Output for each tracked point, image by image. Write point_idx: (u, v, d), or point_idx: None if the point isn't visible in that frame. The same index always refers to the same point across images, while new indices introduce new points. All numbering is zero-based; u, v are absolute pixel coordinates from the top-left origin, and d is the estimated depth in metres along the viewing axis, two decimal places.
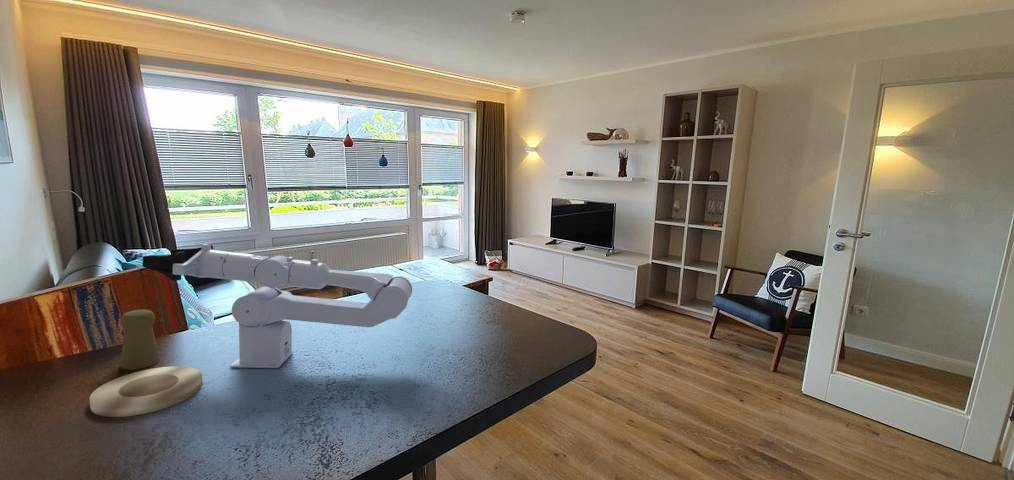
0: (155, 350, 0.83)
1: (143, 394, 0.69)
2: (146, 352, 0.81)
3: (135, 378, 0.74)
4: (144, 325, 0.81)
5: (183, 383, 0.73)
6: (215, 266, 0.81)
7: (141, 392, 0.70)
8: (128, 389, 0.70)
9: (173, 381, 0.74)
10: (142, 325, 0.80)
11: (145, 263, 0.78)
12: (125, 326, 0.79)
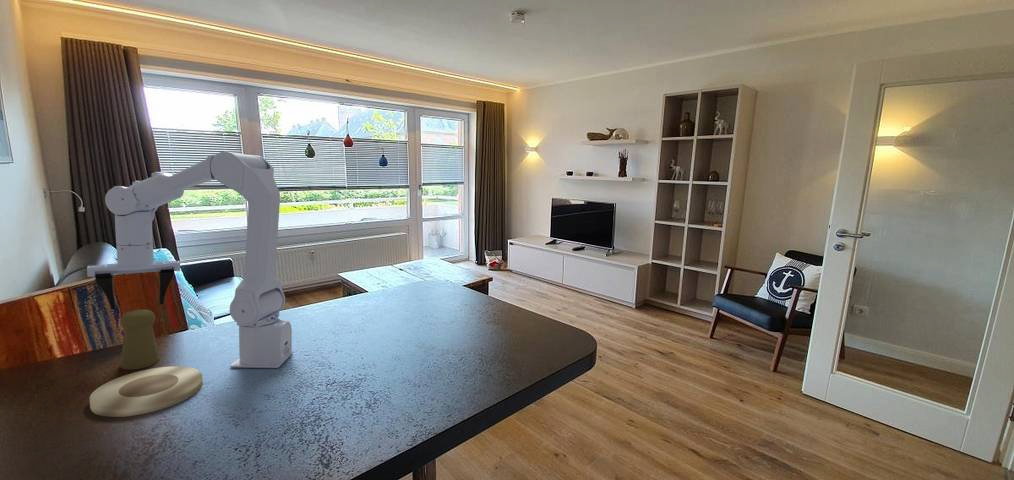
0: (155, 350, 0.83)
1: (143, 394, 0.69)
2: (146, 352, 0.81)
3: (135, 378, 0.74)
4: (144, 325, 0.81)
5: (183, 383, 0.73)
6: None
7: (141, 392, 0.70)
8: (128, 389, 0.70)
9: (173, 381, 0.74)
10: (142, 325, 0.80)
11: None
12: (125, 326, 0.79)
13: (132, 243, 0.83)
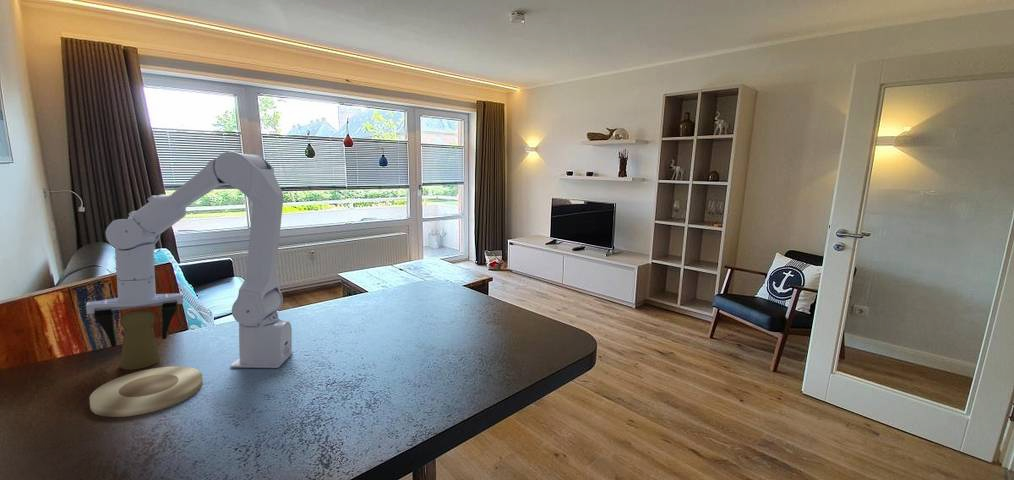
0: (155, 350, 0.83)
1: (143, 394, 0.69)
2: (146, 352, 0.81)
3: (135, 378, 0.74)
4: (144, 325, 0.81)
5: (183, 383, 0.73)
6: (117, 285, 0.81)
7: (141, 392, 0.70)
8: (128, 389, 0.70)
9: (173, 381, 0.74)
10: (142, 325, 0.80)
11: (111, 343, 0.81)
12: (125, 326, 0.79)
13: (137, 277, 0.80)
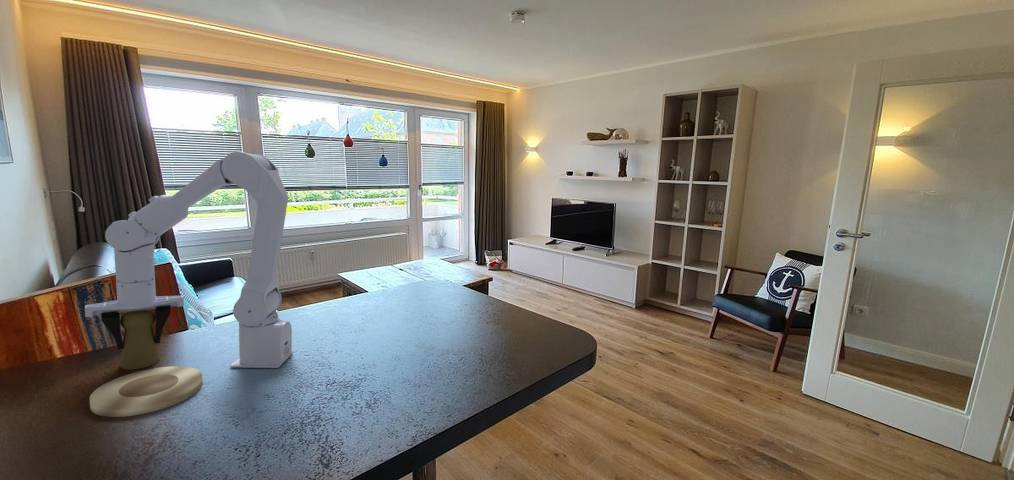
0: (155, 350, 0.83)
1: (143, 394, 0.69)
2: (146, 352, 0.81)
3: (135, 378, 0.74)
4: (144, 325, 0.81)
5: (183, 383, 0.73)
6: None
7: (141, 392, 0.70)
8: (128, 389, 0.70)
9: (173, 381, 0.74)
10: (142, 325, 0.80)
11: None
12: (125, 326, 0.79)
13: (138, 280, 0.79)
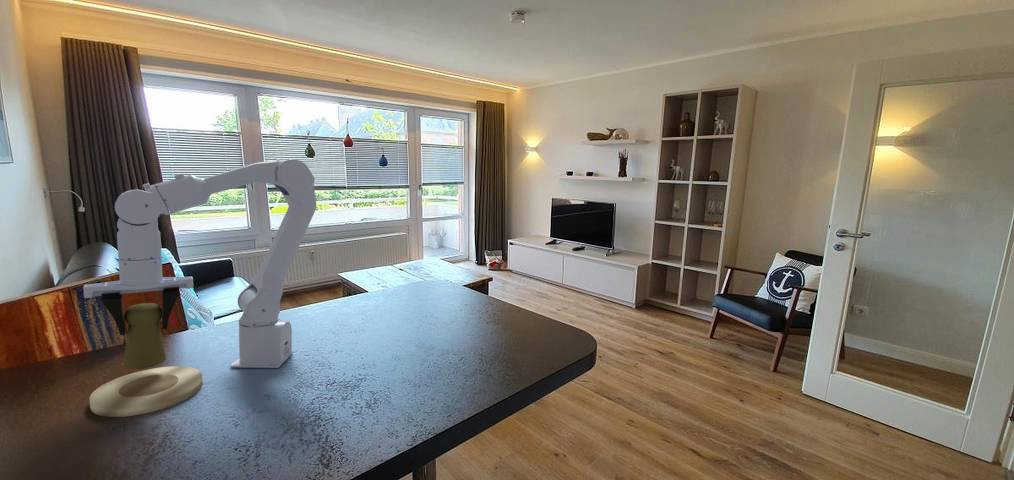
0: (162, 347, 0.76)
1: (143, 394, 0.69)
2: (153, 350, 0.74)
3: (135, 378, 0.74)
4: (152, 321, 0.73)
5: (183, 383, 0.73)
6: (119, 265, 0.71)
7: (141, 392, 0.70)
8: (128, 389, 0.70)
9: (173, 381, 0.74)
10: (149, 320, 0.73)
11: None
12: (130, 321, 0.72)
13: (153, 256, 0.72)
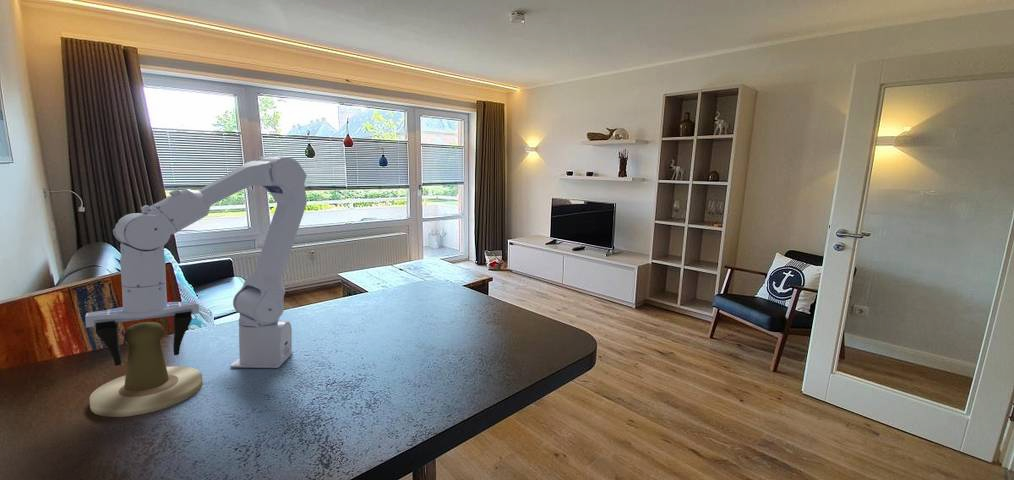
0: (164, 367, 0.73)
1: (143, 394, 0.69)
2: (155, 371, 0.71)
3: None
4: (153, 340, 0.71)
5: (183, 383, 0.73)
6: (122, 292, 0.68)
7: (141, 392, 0.70)
8: None
9: (173, 381, 0.74)
10: (151, 340, 0.70)
11: None
12: (131, 342, 0.69)
13: (161, 281, 0.70)
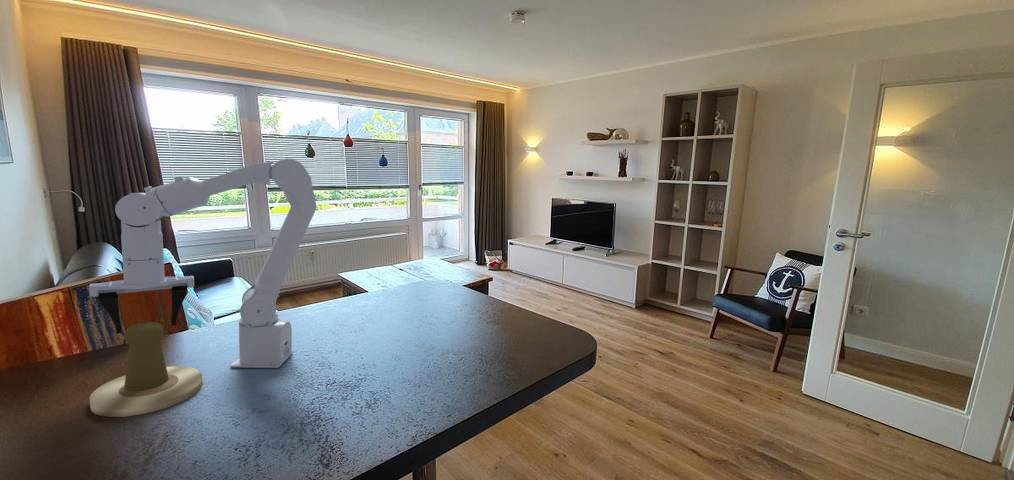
0: (164, 367, 0.73)
1: (143, 394, 0.69)
2: (155, 371, 0.71)
3: None
4: (153, 340, 0.71)
5: (183, 383, 0.73)
6: (123, 265, 0.74)
7: (141, 392, 0.70)
8: None
9: (173, 381, 0.74)
10: (151, 340, 0.70)
11: (116, 329, 0.74)
12: (131, 342, 0.69)
13: (152, 256, 0.74)
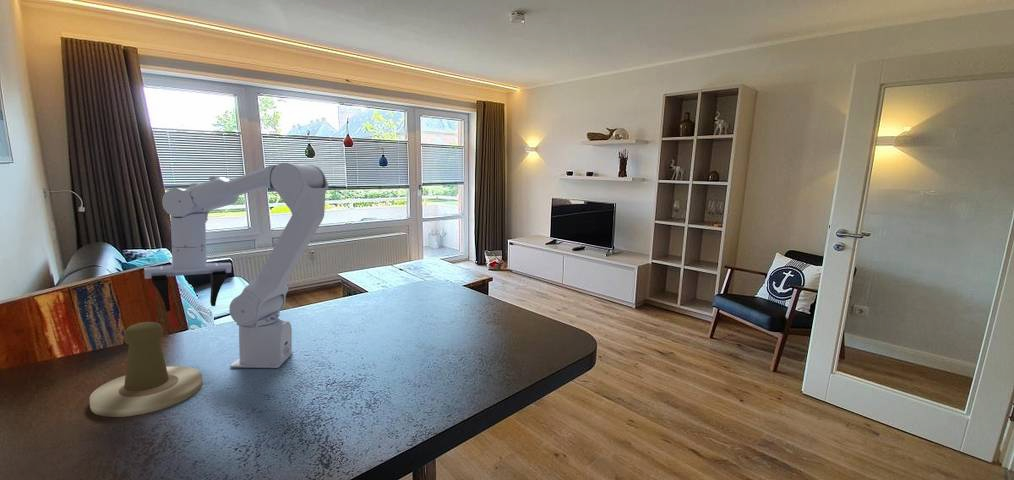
0: (164, 367, 0.73)
1: (143, 394, 0.69)
2: (155, 371, 0.71)
3: None
4: (153, 340, 0.71)
5: (183, 383, 0.73)
6: (172, 252, 0.84)
7: (141, 392, 0.70)
8: None
9: (173, 381, 0.74)
10: (150, 340, 0.70)
11: None
12: (131, 342, 0.69)
13: (187, 245, 0.83)
